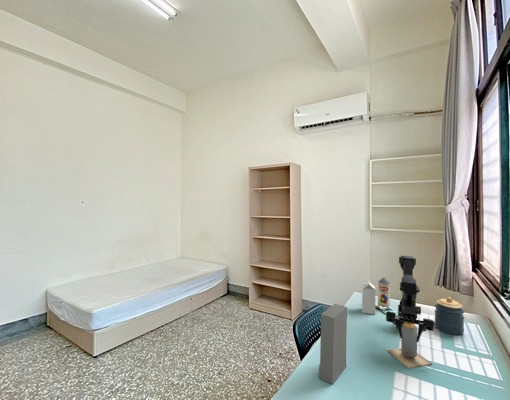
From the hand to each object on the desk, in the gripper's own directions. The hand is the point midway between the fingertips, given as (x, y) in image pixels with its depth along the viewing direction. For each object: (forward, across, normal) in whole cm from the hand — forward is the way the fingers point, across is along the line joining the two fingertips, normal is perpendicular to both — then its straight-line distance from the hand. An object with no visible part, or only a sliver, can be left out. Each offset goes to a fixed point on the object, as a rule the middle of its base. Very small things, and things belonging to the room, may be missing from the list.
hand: (409, 340), depth 115 cm
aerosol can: (-32, -12, +45) cm, 57 cm away
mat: (+5, 0, +7) cm, 9 cm away
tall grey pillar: (+24, -27, -12) cm, 38 cm away
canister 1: (+4, 0, +6) cm, 7 cm away
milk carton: (-25, -20, +38) cm, 50 cm away
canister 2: (-23, +20, +36) cm, 47 cm away
